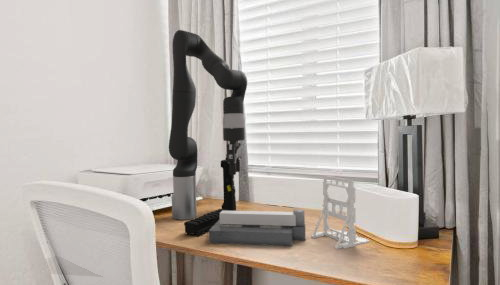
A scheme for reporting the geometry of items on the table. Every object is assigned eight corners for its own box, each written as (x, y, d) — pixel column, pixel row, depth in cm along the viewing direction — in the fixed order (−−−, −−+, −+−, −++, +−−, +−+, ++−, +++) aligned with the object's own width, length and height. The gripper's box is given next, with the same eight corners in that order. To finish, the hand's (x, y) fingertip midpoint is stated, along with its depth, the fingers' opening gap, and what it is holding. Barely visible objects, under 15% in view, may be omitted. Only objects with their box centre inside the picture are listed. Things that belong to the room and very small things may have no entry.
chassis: (209, 243, 105) (208, 229, 105) (221, 228, 120) (221, 216, 120) (305, 246, 100) (305, 232, 100) (305, 230, 116) (305, 218, 115)
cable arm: (304, 222, 110) (304, 209, 109) (304, 226, 106) (304, 212, 105) (222, 220, 114) (222, 207, 114) (219, 223, 110) (219, 210, 110)
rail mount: (216, 220, 132) (216, 208, 132) (230, 222, 129) (230, 210, 129) (181, 236, 113) (180, 221, 113) (196, 238, 110) (195, 223, 110)
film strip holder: (373, 242, 102) (373, 178, 102) (339, 250, 96) (338, 181, 96) (341, 230, 115) (340, 173, 115) (309, 236, 109) (308, 176, 109)
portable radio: (235, 213, 142) (234, 155, 141) (221, 213, 142) (220, 155, 141) (236, 209, 150) (235, 154, 149) (223, 209, 150) (221, 154, 149)
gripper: (227, 127, 124) (228, 171, 124) (218, 126, 110) (219, 175, 110) (247, 127, 123) (248, 171, 123) (241, 126, 109) (242, 175, 109)
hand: (234, 173), depth 117 cm, fingers open, 8 cm apart
